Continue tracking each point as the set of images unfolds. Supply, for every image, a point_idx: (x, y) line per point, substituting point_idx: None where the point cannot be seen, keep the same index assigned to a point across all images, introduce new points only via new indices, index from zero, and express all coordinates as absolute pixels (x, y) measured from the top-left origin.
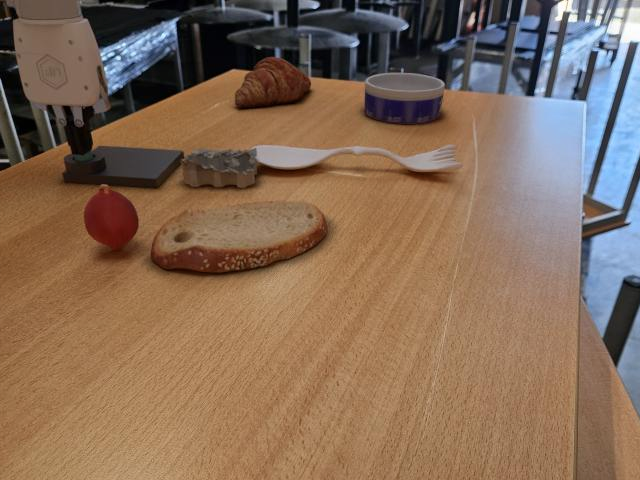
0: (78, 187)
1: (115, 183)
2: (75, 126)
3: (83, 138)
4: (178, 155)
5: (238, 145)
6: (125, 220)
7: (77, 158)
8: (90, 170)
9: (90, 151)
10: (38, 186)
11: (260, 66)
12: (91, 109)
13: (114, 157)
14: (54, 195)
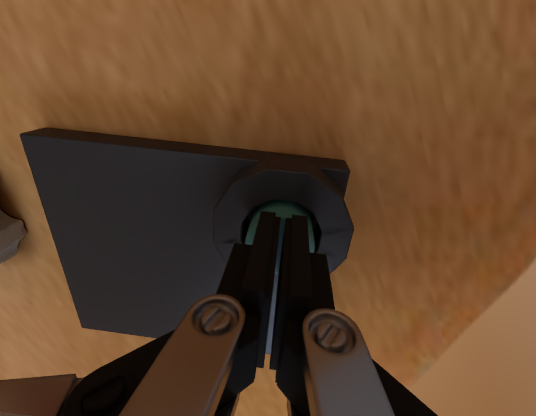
0: (285, 121)
1: (171, 142)
2: (253, 304)
3: (242, 265)
4: (73, 300)
5: (34, 369)
6: None
7: (292, 212)
8: (243, 170)
9: None
10: (425, 121)
11: None
12: (68, 407)
13: None
14: (346, 39)
